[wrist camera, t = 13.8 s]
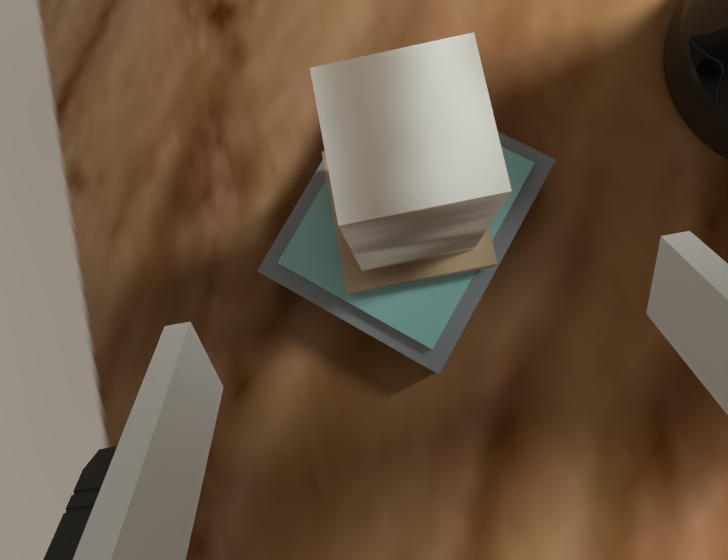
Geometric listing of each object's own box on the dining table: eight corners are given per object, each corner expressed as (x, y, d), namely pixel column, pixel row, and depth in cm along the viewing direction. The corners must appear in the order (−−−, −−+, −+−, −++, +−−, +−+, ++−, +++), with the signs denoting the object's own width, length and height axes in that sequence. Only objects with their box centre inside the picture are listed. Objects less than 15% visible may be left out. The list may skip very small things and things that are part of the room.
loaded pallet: (461, 134, 29) (495, 1, 18) (492, 268, 28) (548, 213, 17) (326, 162, 30) (278, 49, 19) (350, 296, 29) (314, 259, 17)
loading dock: (377, 99, 34) (373, 66, 30) (540, 179, 33) (559, 155, 29) (272, 279, 33) (253, 269, 29) (435, 372, 31) (440, 375, 27)
